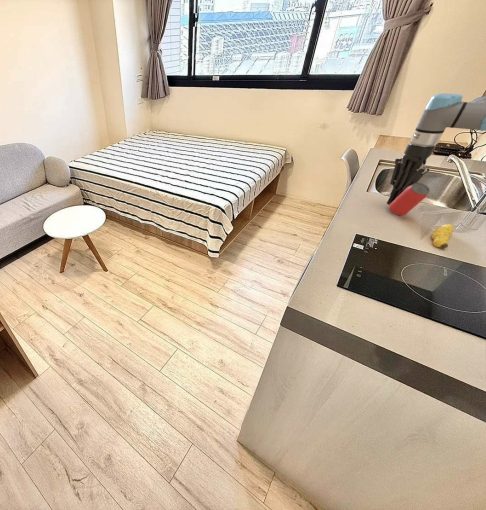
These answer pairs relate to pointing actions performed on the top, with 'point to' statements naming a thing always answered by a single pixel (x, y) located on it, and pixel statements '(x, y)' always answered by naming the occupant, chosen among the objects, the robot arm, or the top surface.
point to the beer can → (409, 199)
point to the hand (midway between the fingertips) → (391, 204)
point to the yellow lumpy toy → (442, 235)
